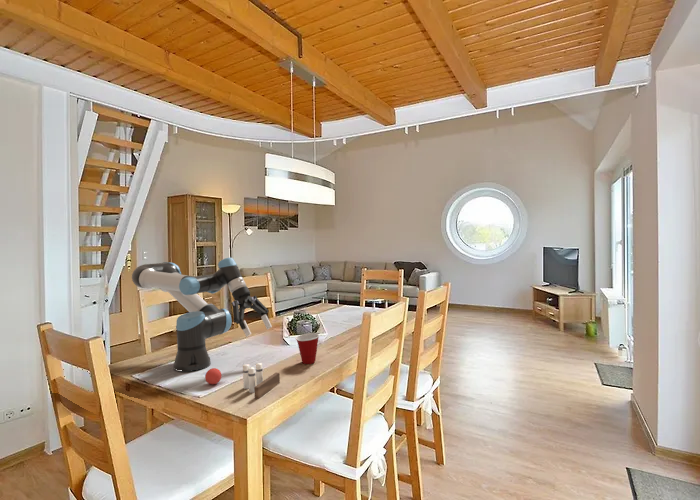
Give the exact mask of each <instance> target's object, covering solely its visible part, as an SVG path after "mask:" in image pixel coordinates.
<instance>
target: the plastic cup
mask: <svg viewBox="0 0 700 500" xmlns="http://www.w3.org/2000/svg"><path fill="white" fill-rule="evenodd" d="M319 338H320V334H319V333H315V332H314V333H313V332H311V333H305V334H300V335H297V336H295V340H296V342H297V345H298V350H299V355H300V358H301V363H302V364H304V365H311V364H315V363H316V359H317V353H318V352H317V351H318V343H319Z"/></svg>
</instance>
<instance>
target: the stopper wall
mask: <svg viewBox="0 0 700 500" xmlns="http://www.w3.org/2000/svg"><path fill="white" fill-rule="evenodd" d="M280 379H281V377H280V372H274V373H273V374H272V375H270V376H268V377H267V378H266V379H263V382H261V383H260V384H258V385H257V386H255V387H254V390H255V392H254V399H257V400H260V399H261V398H262V397H263V396H265V395H266V394H267V393H269V392H270V391H271V390H272V389H274V388H275V387H277V386H278V385H280V383H281V381H280Z"/></svg>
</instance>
